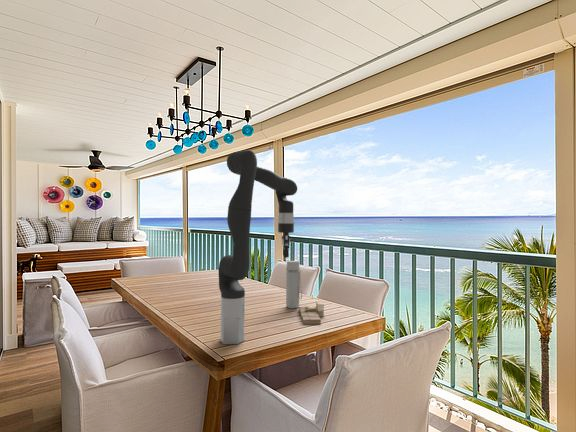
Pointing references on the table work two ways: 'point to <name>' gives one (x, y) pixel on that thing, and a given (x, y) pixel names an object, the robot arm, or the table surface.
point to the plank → (309, 316)
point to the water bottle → (293, 284)
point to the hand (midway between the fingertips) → (285, 256)
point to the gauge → (317, 308)
